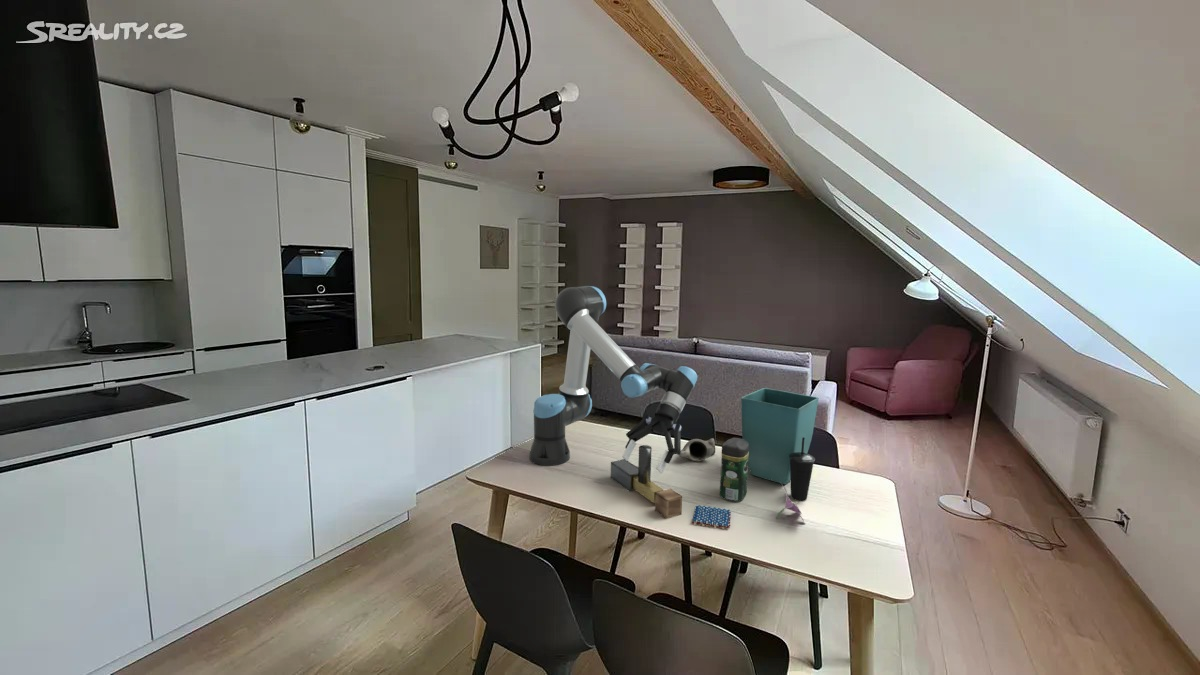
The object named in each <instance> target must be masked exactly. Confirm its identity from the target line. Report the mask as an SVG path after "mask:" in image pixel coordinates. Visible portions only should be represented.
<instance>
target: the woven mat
mask: <svg viewBox="0 0 1200 675" xmlns="http://www.w3.org/2000/svg"><path fill="white" fill-rule="evenodd" d="M692 516H693V517H692V522H691V524H693V525H695V526H697V525H698V526H701V525H702V526H701V527H705V526H706V527H708V528H709V529H712V528H714V529H722V530H726V531H728V530H729V529H730V527H731V518H732V517H731V510H730V509H727V508H720V507H718V508H717V507H716V506H715V507H712V506H706V505H700V504H699V505H695V508H694V513H693V515H692Z"/></svg>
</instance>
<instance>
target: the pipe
mask: <svg viewBox="0 0 1200 675" xmlns="http://www.w3.org/2000/svg"><path fill="white" fill-rule="evenodd" d="M714 454H716V443H715V439H714V437H713V438H710V439H708V440H702V439H700V438H693V439H691V440H688V441H687V442H686V443H685V444H684V446H683V447H682V448H681V453H680V455H678V456H679V457H681V458H687V459H688V460H690V461H693V462H701V461H703V460H706V459H708V458H710V457H711V456H712V455H714Z"/></svg>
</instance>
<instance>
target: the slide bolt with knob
mask: <svg viewBox="0 0 1200 675" xmlns="http://www.w3.org/2000/svg"><path fill="white" fill-rule="evenodd" d="M652 449H653V448H652V446H650V445H647V444H645V445H644V444H643V445H639V446H638V461H637V462H638V465H637V467H638V475H635V476H632V482H631V487H632V488H633V489H635V491H636V492H637V493H639V494H641V495H642V496H643V497H645V498H646V499H647V500H648V501H650V502H652V503H653V504H655V500H656V492H660V491H663V490H665V489H664V488H662V487H661V486H659V485H657V484H656V483H654V482H653V481H652V480H651V477H652V476H651V475H652V474H651V473H652Z"/></svg>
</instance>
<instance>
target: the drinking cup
mask: <svg viewBox="0 0 1200 675" xmlns="http://www.w3.org/2000/svg"><path fill="white" fill-rule="evenodd" d="M804 441H805V438H804V437H803V438H802V449H801V452H795V453H791V454H790V455H789V458H790V481H789V482H790V497H791V498H792V499H793V500H796V501H798V502H804V501H806V500H807V499H808V494H809V489H810V483H811V478H812V474H813V469H814V468H813V467H814V463H815V461H816V458H815V457H814V456H813V455H811V454H809V453H808V452H807V453H804Z"/></svg>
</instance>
